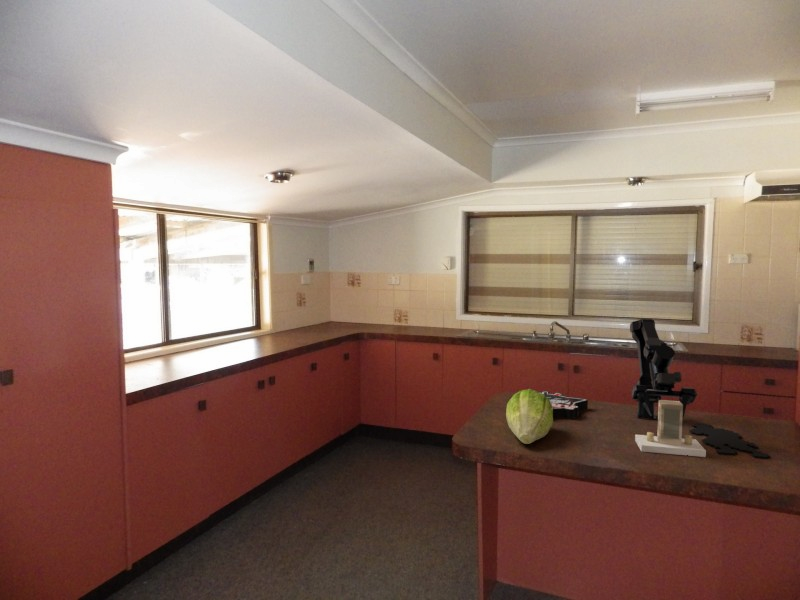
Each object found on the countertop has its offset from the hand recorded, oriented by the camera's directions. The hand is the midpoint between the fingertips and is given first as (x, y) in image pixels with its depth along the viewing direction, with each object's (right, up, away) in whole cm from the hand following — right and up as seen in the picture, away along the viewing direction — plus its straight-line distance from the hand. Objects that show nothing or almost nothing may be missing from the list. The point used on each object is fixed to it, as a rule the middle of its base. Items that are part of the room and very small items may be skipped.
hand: (667, 416), depth 161 cm
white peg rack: (-1, -9, -3) cm, 10 cm away
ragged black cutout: (+21, -9, +5) cm, 24 cm away
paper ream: (-1, -7, -3) cm, 8 cm away
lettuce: (-43, -9, +9) cm, 45 cm away
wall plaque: (-28, -7, +38) cm, 47 cm away
